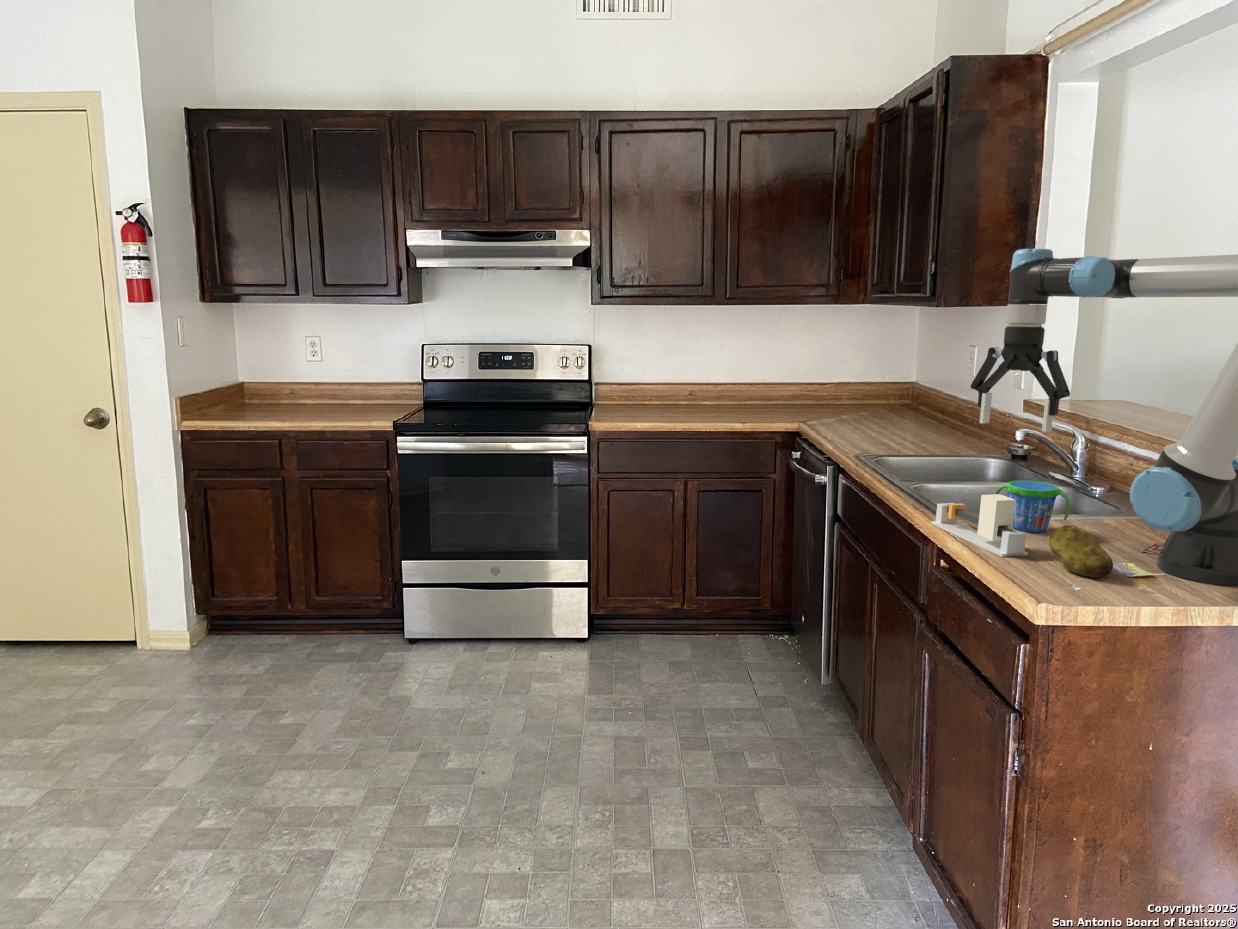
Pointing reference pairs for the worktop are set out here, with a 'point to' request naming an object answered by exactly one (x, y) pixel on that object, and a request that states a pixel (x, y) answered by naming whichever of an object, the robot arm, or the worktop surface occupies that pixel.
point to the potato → (1080, 552)
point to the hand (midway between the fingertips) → (1014, 427)
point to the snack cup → (1033, 504)
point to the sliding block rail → (948, 521)
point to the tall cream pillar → (995, 515)
